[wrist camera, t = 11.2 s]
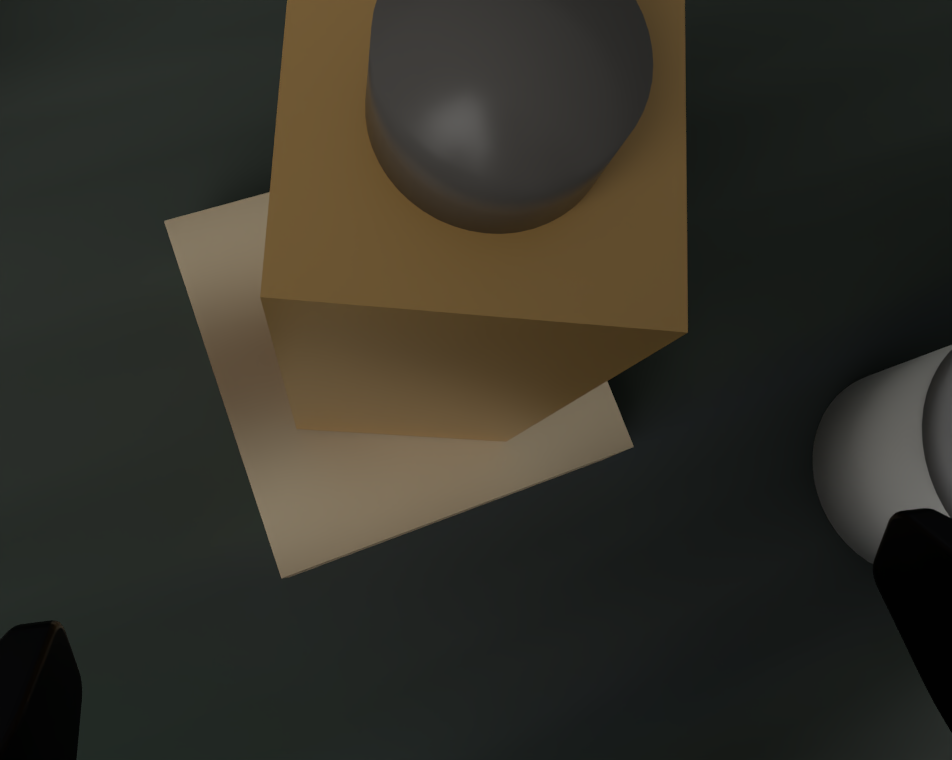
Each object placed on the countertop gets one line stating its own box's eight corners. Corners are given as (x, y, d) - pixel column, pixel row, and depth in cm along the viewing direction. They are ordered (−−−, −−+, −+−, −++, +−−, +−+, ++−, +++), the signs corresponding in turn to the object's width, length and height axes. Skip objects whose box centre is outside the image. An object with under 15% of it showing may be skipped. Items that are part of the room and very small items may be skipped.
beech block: (598, 461, 24) (633, 446, 22) (288, 577, 22) (281, 578, 20) (486, 177, 26) (505, 128, 23) (185, 263, 24) (164, 220, 21)
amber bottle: (506, 441, 21) (746, 297, 9) (296, 429, 20) (248, 252, 8) (512, 246, 22) (736, -124, 10) (312, 227, 21) (290, -200, 9)
